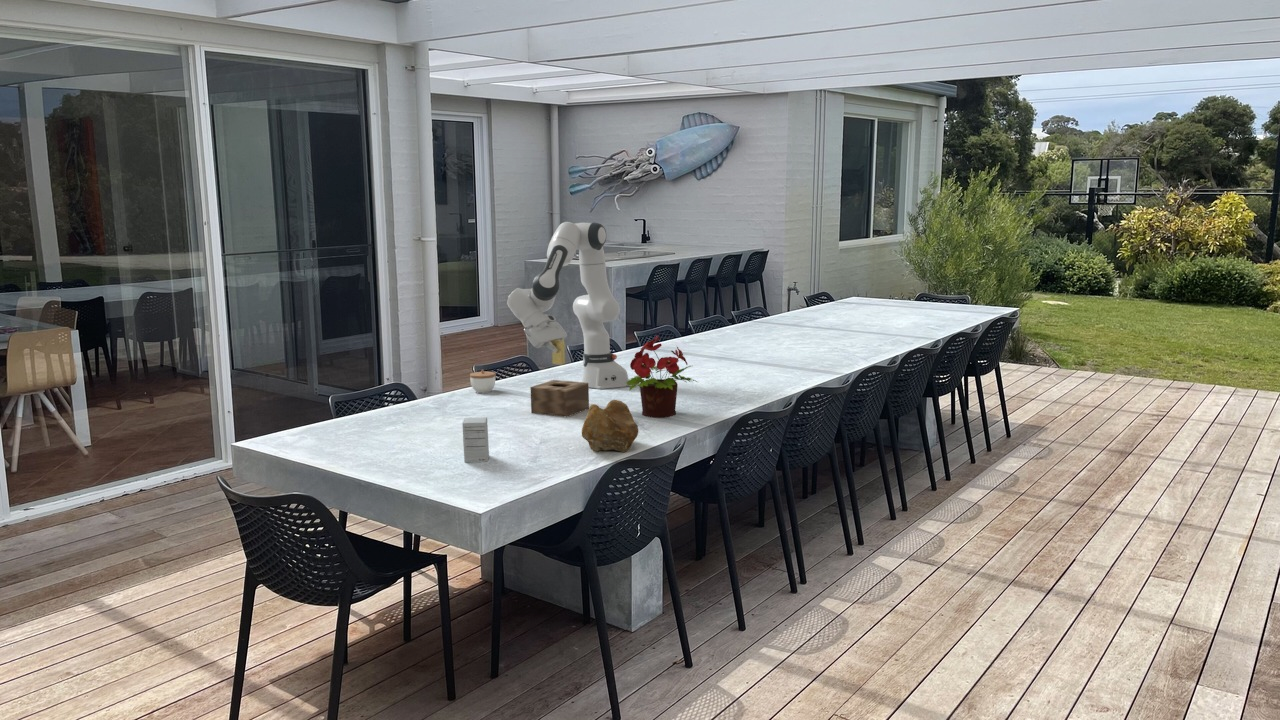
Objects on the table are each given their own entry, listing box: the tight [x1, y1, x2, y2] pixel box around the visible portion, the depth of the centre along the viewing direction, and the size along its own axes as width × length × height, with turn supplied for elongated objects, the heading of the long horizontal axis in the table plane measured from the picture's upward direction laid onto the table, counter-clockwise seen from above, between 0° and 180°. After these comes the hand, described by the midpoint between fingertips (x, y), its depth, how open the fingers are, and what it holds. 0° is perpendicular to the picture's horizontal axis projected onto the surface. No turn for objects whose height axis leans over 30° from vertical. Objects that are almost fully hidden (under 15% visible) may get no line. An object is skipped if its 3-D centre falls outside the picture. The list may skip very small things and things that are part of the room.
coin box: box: [530, 379, 590, 418], centre depth 364 cm, size 16×16×10 cm
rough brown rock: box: [581, 399, 639, 453], centre depth 308 cm, size 23×17×15 cm
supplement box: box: [462, 416, 490, 463], centre depth 298 cm, size 7×7×13 cm
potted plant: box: [626, 335, 700, 419], centre depth 352 cm, size 30×27×30 cm
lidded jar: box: [469, 369, 497, 394], centre depth 404 cm, size 11×11×9 cm
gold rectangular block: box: [551, 340, 566, 366], centre depth 362 cm, size 4×2×9 cm, turn 63°
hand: (559, 351), depth 361 cm, fingers closed on gold rectangular block, 2 cm apart
